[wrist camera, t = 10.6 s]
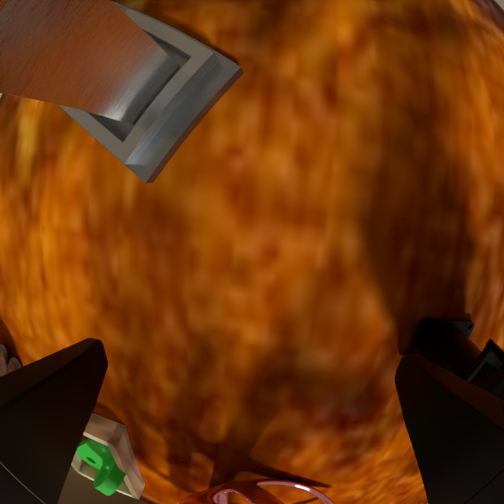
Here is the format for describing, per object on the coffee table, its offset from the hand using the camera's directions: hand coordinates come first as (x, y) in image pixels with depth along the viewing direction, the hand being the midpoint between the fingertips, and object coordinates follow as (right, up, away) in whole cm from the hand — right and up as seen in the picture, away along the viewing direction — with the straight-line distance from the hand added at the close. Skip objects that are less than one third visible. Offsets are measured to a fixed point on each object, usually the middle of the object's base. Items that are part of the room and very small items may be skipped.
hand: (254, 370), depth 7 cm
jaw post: (-8, +15, +9) cm, 19 cm away
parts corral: (-22, -25, +22) cm, 40 cm away
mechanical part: (-23, -26, +23) cm, 42 cm away
